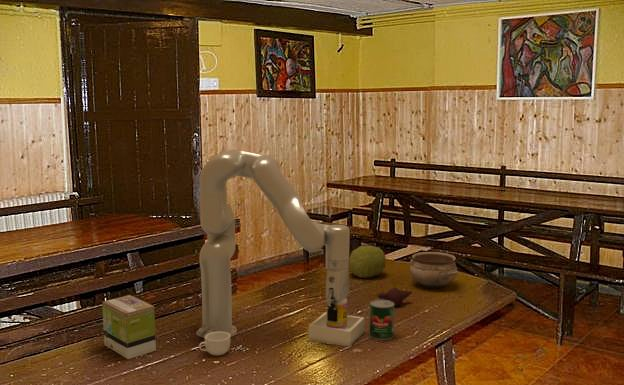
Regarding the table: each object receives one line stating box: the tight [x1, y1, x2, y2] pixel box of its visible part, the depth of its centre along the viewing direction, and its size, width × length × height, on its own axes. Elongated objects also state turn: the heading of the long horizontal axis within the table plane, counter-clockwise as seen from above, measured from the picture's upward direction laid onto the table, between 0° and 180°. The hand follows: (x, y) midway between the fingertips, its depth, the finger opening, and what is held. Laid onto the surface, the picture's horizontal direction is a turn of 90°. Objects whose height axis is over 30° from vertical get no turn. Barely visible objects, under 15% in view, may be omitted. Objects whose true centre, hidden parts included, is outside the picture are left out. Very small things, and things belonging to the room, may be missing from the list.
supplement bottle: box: [326, 297, 348, 330], centre depth 214 cm, size 7×7×13 cm
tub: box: [308, 311, 366, 348], centre depth 215 cm, size 14×14×5 cm
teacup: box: [198, 331, 231, 356], centre depth 201 cm, size 10×8×5 cm
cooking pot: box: [409, 251, 459, 289], centre depth 271 cm, size 25×19×12 cm
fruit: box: [349, 245, 387, 279], centre depth 285 cm, size 16×14×15 cm
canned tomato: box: [368, 299, 395, 341], centre depth 216 cm, size 8×8×11 cm
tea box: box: [101, 294, 157, 360], centre depth 204 cm, size 15×10×15 cm, turn 45°
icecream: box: [377, 286, 413, 307], centre depth 247 cm, size 7×8×15 cm
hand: (336, 316), depth 215 cm, fingers closed on supplement bottle, 6 cm apart
